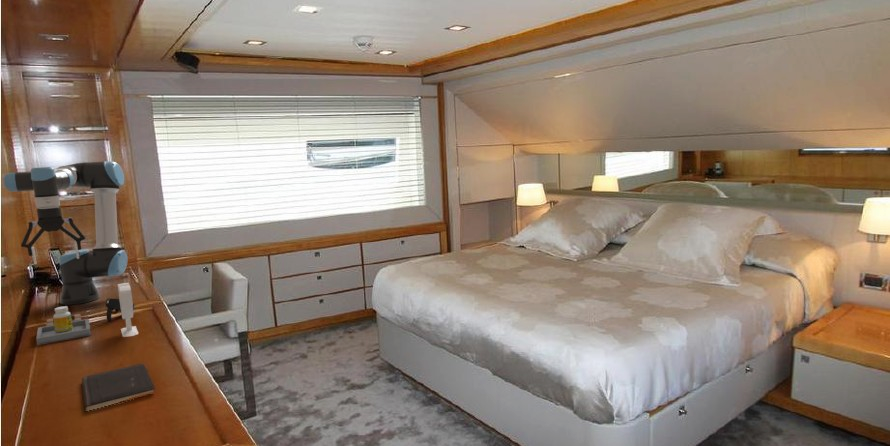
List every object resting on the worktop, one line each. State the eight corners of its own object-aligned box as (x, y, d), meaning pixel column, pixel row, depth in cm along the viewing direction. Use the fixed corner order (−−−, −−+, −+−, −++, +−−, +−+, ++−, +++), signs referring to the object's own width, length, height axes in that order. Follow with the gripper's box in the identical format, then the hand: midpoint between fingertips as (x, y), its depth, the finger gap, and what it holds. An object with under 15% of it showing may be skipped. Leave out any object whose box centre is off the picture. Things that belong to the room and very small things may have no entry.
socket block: (47, 325, 213) (47, 319, 213) (81, 319, 219) (80, 313, 219) (47, 332, 204) (46, 325, 204) (81, 325, 210) (80, 319, 210)
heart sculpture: (139, 335, 196) (133, 287, 194) (123, 338, 193) (117, 290, 191) (135, 324, 209) (129, 280, 207) (120, 327, 206) (114, 282, 204)
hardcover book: (144, 370, 165) (144, 362, 164) (155, 396, 146) (154, 388, 146) (82, 384, 155) (81, 377, 155) (85, 414, 137) (84, 406, 136)
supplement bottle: (56, 331, 201) (53, 307, 200) (73, 329, 204) (70, 304, 203) (54, 335, 197) (51, 310, 195) (72, 333, 199) (68, 308, 198)
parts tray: (39, 333, 202) (38, 327, 202) (89, 324, 211) (88, 318, 211) (37, 345, 189) (36, 338, 189) (91, 335, 198) (90, 328, 198)
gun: (133, 325, 226) (137, 302, 230) (106, 319, 211) (112, 294, 215) (127, 325, 227) (131, 302, 230) (100, 319, 211) (105, 294, 215)
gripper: (6, 212, 195) (16, 268, 199) (87, 204, 210) (95, 257, 213) (7, 210, 201) (17, 264, 205) (86, 203, 216) (94, 254, 219)
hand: (57, 261), depth 209 cm, fingers open, 13 cm apart
